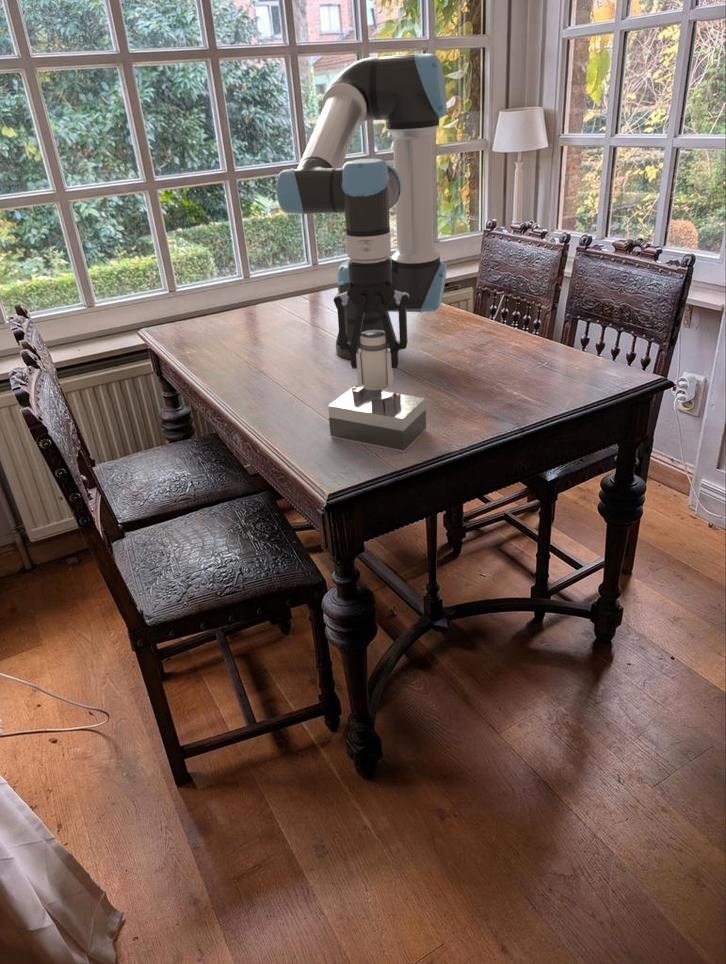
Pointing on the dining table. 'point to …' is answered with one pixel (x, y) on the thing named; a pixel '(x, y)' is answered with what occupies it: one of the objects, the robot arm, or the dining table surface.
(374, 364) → the lens
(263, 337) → the dining table surface
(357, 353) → the robot arm
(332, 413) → the two-tone block with arcs
